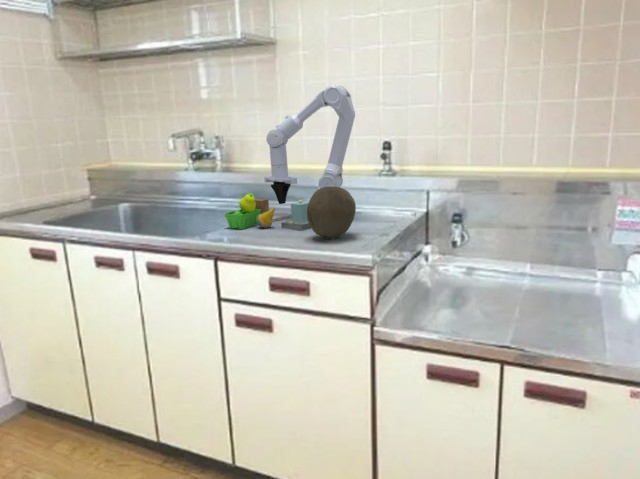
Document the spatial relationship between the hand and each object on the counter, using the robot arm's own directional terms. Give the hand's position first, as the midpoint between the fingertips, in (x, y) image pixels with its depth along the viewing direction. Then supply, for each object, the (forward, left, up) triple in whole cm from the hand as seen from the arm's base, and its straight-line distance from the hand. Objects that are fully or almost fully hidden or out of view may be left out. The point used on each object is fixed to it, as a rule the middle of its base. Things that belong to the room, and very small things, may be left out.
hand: (282, 203), depth 189 cm
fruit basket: (+17, -1, -5) cm, 17 cm away
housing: (+7, +16, -4) cm, 18 cm away
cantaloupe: (+14, +35, -5) cm, 38 cm away
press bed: (+7, +16, -5) cm, 18 cm away
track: (+4, -1, -5) cm, 7 cm away
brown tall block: (+9, -1, -4) cm, 10 cm away
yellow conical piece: (+14, +7, -5) cm, 17 cm away
